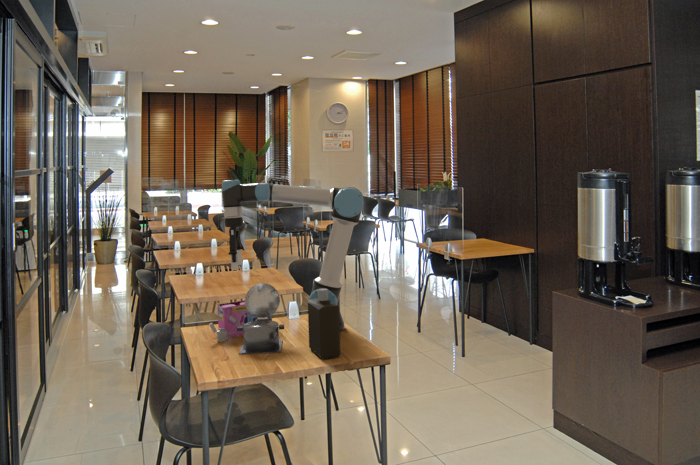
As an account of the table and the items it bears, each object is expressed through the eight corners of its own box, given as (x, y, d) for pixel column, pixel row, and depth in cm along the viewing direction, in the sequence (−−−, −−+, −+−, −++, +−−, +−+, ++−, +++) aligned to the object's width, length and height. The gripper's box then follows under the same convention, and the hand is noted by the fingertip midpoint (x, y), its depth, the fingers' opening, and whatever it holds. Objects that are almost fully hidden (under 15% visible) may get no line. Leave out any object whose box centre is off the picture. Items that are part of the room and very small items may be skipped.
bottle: (321, 360, 205) (319, 294, 203) (308, 348, 220) (306, 286, 217) (341, 357, 208) (340, 292, 206) (327, 345, 223) (325, 284, 221)
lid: (279, 318, 230) (280, 319, 233) (279, 282, 233) (280, 283, 236) (244, 319, 229) (245, 320, 232) (245, 283, 232) (246, 284, 235)
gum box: (268, 325, 256) (267, 296, 255) (275, 329, 249) (274, 299, 248) (218, 334, 243) (216, 304, 241) (224, 338, 236) (223, 307, 235)
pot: (286, 339, 234) (285, 317, 233) (283, 352, 216) (282, 329, 215) (241, 340, 232) (240, 319, 232) (235, 354, 215) (234, 330, 214)
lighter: (227, 339, 235) (226, 321, 234) (227, 340, 233) (226, 322, 232) (210, 341, 233) (209, 322, 232) (210, 342, 231) (209, 323, 231)
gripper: (228, 215, 243) (232, 263, 245) (219, 219, 218) (223, 273, 220) (245, 214, 243) (249, 262, 246) (238, 218, 219) (243, 271, 221)
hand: (237, 267), depth 233 cm, fingers open, 13 cm apart
